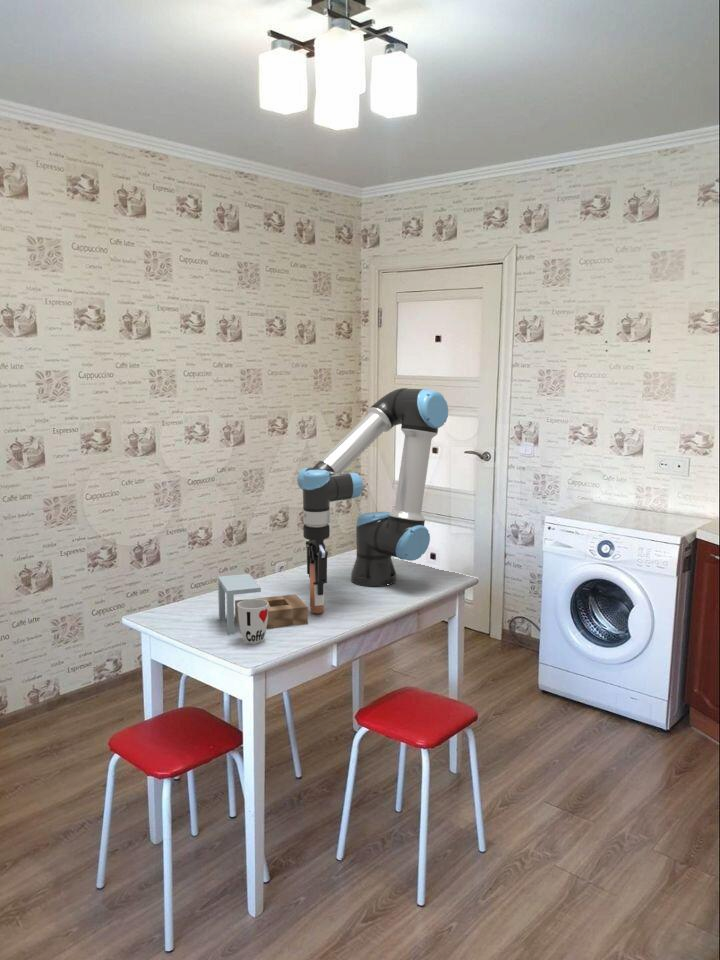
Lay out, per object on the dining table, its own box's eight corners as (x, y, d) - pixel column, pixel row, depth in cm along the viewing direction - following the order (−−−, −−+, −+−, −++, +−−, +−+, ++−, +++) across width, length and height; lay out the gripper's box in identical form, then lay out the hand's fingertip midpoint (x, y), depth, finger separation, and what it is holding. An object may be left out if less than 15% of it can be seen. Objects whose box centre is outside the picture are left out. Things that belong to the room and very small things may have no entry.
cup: (242, 647, 194) (241, 610, 192) (234, 637, 201) (233, 600, 200) (272, 643, 197) (272, 606, 196) (264, 632, 205) (263, 597, 203)
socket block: (295, 610, 223) (295, 594, 222) (307, 623, 212) (307, 606, 211) (235, 617, 216) (234, 600, 216) (244, 631, 205) (243, 613, 205)
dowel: (321, 608, 224) (321, 562, 221) (325, 612, 220) (325, 565, 217) (308, 609, 222) (308, 563, 220) (312, 613, 218) (312, 567, 216)
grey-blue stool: (249, 614, 219) (249, 573, 217) (261, 630, 206) (260, 587, 204) (218, 617, 216) (218, 576, 214) (228, 634, 203) (227, 590, 201)
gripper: (295, 519, 223) (296, 595, 227) (312, 531, 207) (313, 613, 211) (319, 517, 226) (320, 592, 230) (338, 529, 210) (338, 610, 214)
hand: (317, 602), depth 221 cm, fingers closed on dowel, 4 cm apart
